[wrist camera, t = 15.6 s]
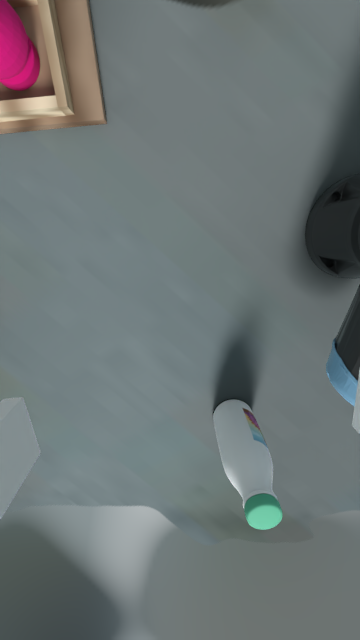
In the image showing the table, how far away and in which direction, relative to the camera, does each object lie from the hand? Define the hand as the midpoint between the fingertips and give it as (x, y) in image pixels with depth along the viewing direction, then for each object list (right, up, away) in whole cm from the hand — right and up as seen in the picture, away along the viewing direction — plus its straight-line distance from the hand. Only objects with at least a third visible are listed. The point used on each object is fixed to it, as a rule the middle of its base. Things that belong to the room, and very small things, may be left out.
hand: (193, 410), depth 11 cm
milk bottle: (+10, -15, +42) cm, 45 cm away
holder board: (-21, +37, +24) cm, 49 cm away
